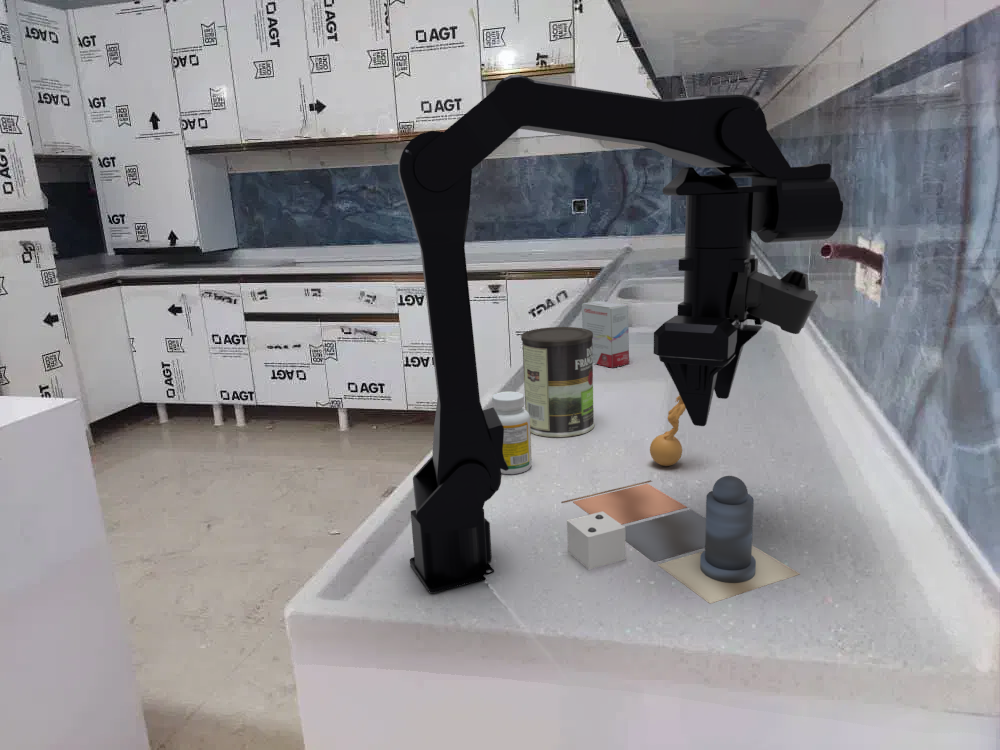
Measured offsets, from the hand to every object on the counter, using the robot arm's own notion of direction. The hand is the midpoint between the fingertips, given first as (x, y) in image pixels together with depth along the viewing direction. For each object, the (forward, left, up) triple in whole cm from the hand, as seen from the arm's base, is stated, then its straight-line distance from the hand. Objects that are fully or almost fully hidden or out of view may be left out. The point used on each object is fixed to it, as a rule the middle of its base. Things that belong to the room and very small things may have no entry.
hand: (711, 411), depth 71 cm
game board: (-3, +2, -14) cm, 14 cm away
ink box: (+30, +68, -14) cm, 75 cm away
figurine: (+9, +18, -14) cm, 24 cm away
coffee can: (+4, +39, -14) cm, 41 cm away
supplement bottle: (-9, +28, -14) cm, 32 cm away
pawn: (-3, -6, -13) cm, 15 cm away
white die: (-12, +2, -14) cm, 18 cm away
